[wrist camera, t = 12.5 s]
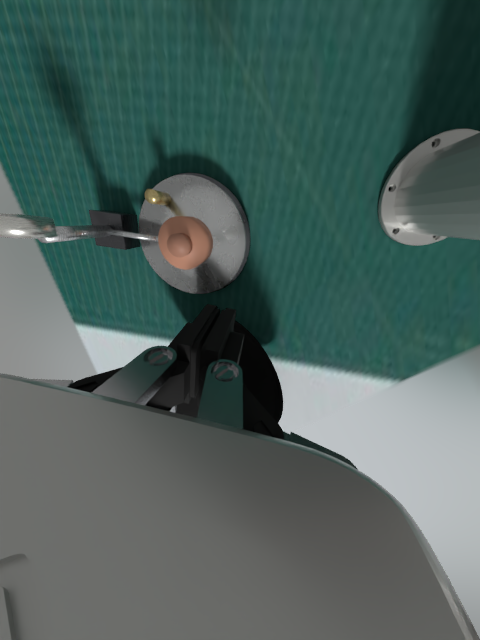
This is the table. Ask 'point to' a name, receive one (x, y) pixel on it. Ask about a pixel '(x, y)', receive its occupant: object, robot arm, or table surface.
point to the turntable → (214, 211)
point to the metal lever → (78, 229)
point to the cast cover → (185, 242)
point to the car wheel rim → (251, 378)
